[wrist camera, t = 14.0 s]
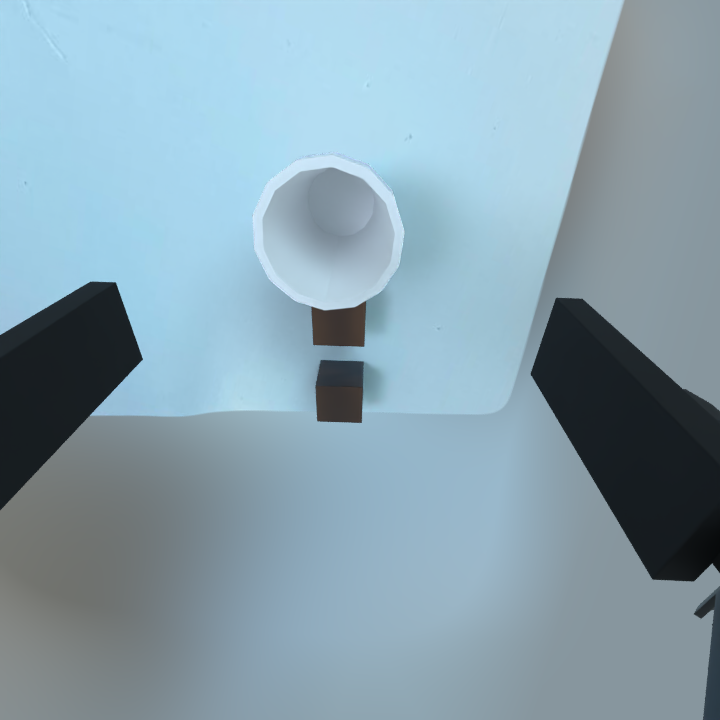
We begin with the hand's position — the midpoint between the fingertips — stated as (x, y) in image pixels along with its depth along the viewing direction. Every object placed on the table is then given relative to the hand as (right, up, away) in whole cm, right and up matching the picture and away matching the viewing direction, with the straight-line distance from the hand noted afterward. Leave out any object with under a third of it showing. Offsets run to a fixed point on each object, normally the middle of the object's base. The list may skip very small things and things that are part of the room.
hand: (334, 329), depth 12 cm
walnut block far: (-1, -3, +33) cm, 34 cm away
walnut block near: (-1, +5, +28) cm, 28 cm away
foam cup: (-1, +14, +23) cm, 26 cm away
